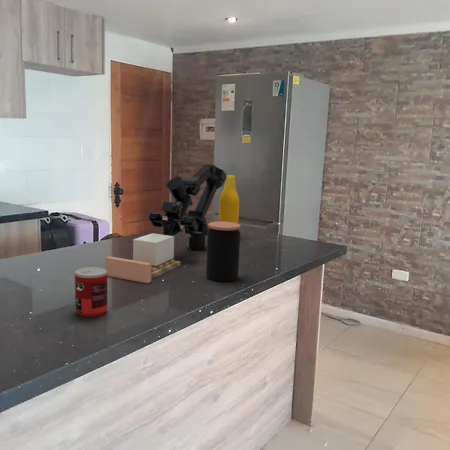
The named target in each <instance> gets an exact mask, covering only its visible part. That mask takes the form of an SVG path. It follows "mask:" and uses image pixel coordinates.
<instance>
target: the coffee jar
mask: <svg viewBox="0 0 450 450" xmlns="http://www.w3.org/2000/svg"><path fill="white" fill-rule="evenodd" d="M207 226H208V228H209V230H208V235H207V245H206V270H205V271H206V276H207V278H208V279H209V280H211V281H214V282H220V283H222V282H226V283H227V282H233V281H235V280H236V279H237V278H238V276H239V268H240V267H239V265H240V247H241V245H240V244H241V232H240V229H241V226H242V225H241V224H240V223H238V224H237V223H233V222H219V221H212V222H209V223H208V224H207Z"/></svg>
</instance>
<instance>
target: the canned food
mask: <svg viewBox="0 0 450 450" xmlns="http://www.w3.org/2000/svg"><path fill="white" fill-rule="evenodd" d="M74 290H75V291H74V292H75V293H74V294H75V295H74V296H75V297H74V300H75V313H76V315H78V316H80V317H85V318H96V317H100V316H102V315H105V314H106V313H107V311H108V310H107V309H108V276H107V270H106V268H102V267H99V266H98V267H97V266H95V267H94V266H90V267H89V266H88V267H82V268H78V269H76V270H75V272H74Z"/></svg>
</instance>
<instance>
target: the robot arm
mask: <svg viewBox="0 0 450 450" xmlns="http://www.w3.org/2000/svg"><path fill="white" fill-rule="evenodd" d="M226 177H227V173H226V172H225V170H223V169H222V168H219V167H217V166H216V165H215V164H210V163H205V164H202V166H201V167H200V168H199V170H198V171H196V172H195V173H194V174H193V175H192V176H190V177H185V178H184V179H183V178H182V177H181V176H178V175H177V176H176V175H175V177H174V178H171V179H170V180H169V181H167V183H166V188H167V190H168V192H169V193H170V196H171V197H172V199H174V202H171V201H163V202H162V205H161V208H160V210H161V211H163V212H164V215H163V216H162V215H161V213H159V212H158V213H157V212H150V213H149V215H148V217H147V218H148V220H149V222H150V223H151V225H152V226H153V227H154V228H162V227H163V232H162V233H163V234H162V235H168V236H174V237H175V235H177V234H178V233H181V232H183V228H184V233H185V234H187V235H188V236H187V239H186V247H187V248H188V249H189V250H190V251H202V250H204V251H205V250H206V251H207V247H206V236H208V230H209V227H208V224H207V222H208V221H207V216H206V215H207V213H208V211H209V208H210V206H211V203H212V202H213V199H214V197H215V195H216V192H217V191H218V189H220V188H221V187H223V185H225V180H226ZM203 183H206V185H205V187H204V189H203V191H202V193H201V196H200V198H199V200H198V203H197V204H196V207H195V209H194V210H191V209H190V210H189V211H188V213H187V210H188V209H189V207H190V206H193V201H192V197H194V196H195V197H196V196H197V195H198V194H199V193H200V191H201V186H202V184H203ZM191 196H192V197H191Z"/></svg>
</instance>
